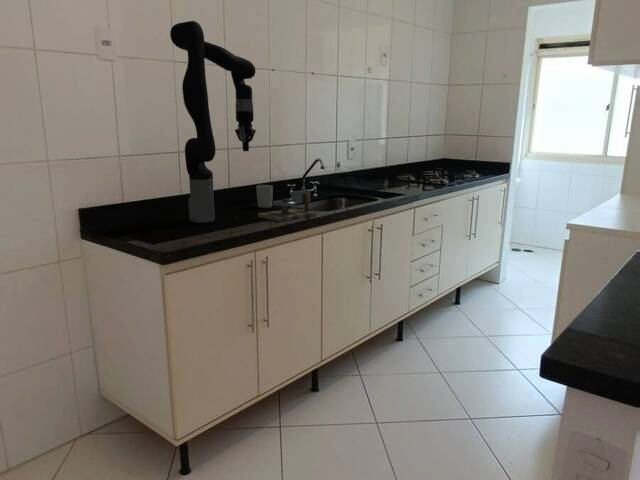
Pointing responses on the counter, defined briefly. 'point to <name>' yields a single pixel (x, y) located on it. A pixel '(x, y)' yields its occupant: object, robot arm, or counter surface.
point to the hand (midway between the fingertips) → (245, 151)
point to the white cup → (264, 195)
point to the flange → (293, 199)
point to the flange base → (288, 213)
